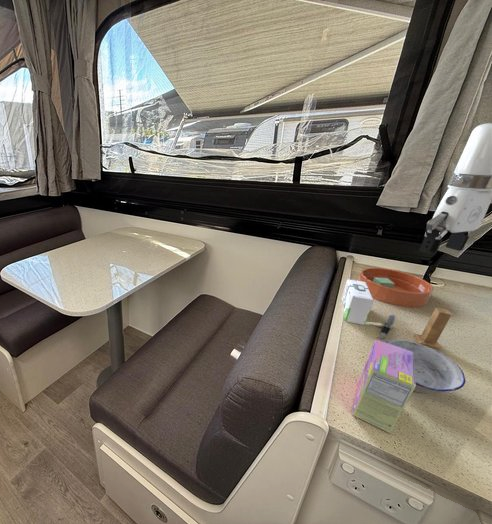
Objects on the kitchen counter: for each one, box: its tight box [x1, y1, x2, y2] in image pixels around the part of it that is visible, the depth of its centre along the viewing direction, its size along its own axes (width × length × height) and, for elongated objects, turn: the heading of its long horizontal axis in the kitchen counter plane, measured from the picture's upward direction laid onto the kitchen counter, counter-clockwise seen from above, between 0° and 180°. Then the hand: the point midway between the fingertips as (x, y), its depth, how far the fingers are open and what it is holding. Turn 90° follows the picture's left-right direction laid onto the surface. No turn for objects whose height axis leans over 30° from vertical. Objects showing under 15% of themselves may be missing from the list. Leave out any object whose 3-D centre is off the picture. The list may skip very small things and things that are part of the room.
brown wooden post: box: [413, 307, 453, 351], centre depth 67 cm, size 4×4×10 cm
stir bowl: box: [357, 267, 434, 308], centre depth 90 cm, size 18×18×6 cm
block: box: [373, 277, 395, 289], centre depth 91 cm, size 4×4×4 cm
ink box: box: [341, 279, 374, 326], centre depth 80 cm, size 9×5×12 cm
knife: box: [376, 314, 395, 340], centre depth 75 cm, size 15×1×3 cm
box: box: [351, 339, 416, 434], centre depth 51 cm, size 10×6×12 cm, turn 138°
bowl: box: [385, 339, 467, 394], centre depth 57 cm, size 13×13×5 cm
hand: (440, 250), depth 69 cm, fingers open, 9 cm apart
